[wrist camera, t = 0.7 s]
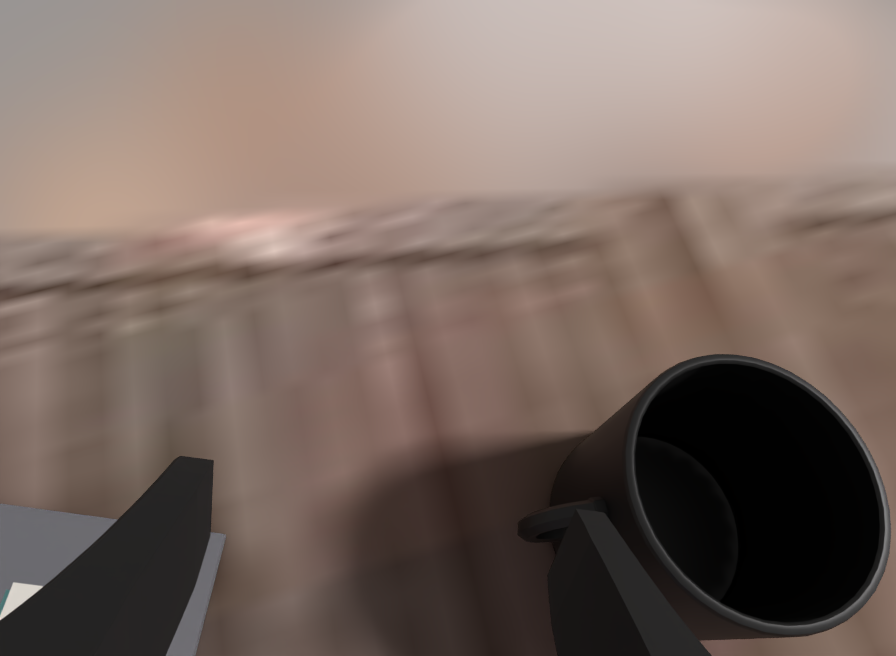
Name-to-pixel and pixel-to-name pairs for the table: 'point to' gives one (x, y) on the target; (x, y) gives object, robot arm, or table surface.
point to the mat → (65, 538)
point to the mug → (734, 499)
